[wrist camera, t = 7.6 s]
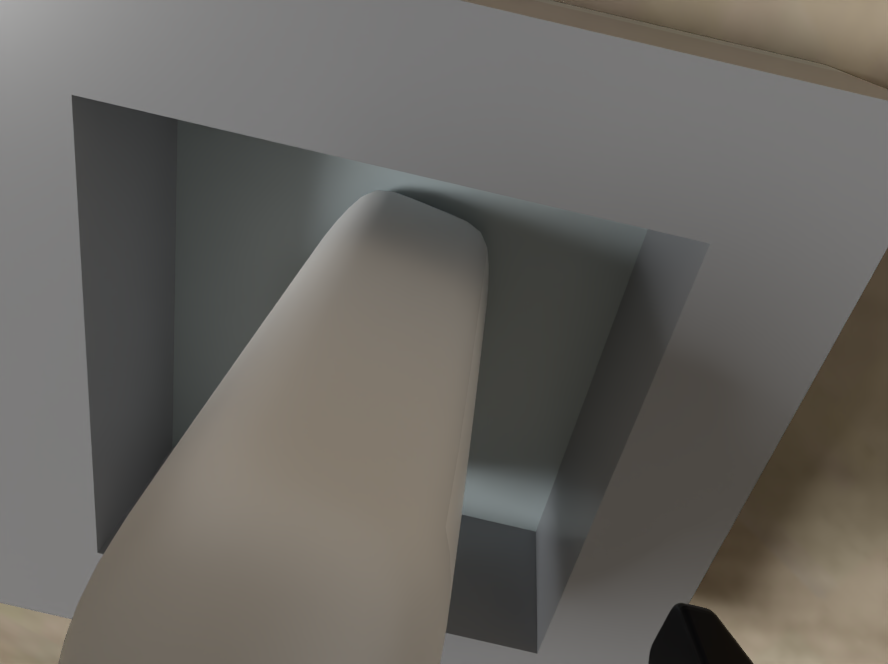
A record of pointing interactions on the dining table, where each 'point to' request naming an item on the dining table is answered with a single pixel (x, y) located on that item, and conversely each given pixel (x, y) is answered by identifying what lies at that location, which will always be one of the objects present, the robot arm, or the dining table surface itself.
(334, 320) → the eye dropper bottle
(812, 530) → the dining table surface
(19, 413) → the holder block
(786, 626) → the dining table surface
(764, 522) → the dining table surface
